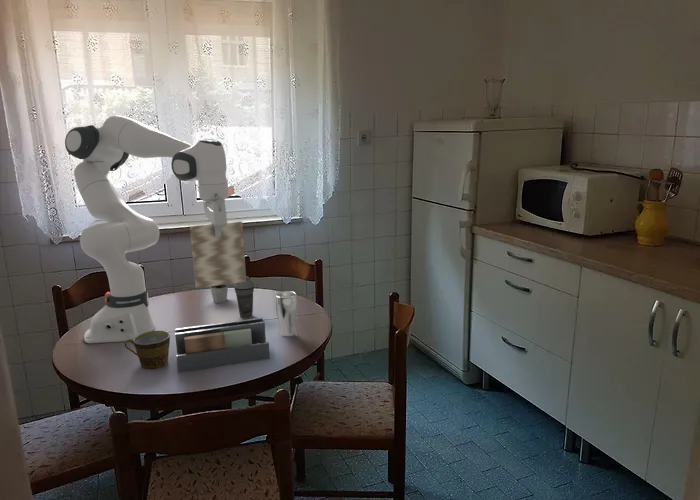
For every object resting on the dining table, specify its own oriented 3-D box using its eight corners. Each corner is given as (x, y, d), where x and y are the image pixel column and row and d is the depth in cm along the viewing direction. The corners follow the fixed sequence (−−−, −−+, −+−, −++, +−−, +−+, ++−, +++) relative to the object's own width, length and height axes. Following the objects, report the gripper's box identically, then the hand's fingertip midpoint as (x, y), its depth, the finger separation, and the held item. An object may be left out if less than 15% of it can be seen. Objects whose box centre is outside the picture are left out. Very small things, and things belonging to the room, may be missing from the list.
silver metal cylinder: (300, 339, 172) (298, 296, 168) (279, 342, 170) (277, 298, 166) (296, 331, 178) (294, 290, 175) (276, 334, 176) (273, 292, 173)
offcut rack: (178, 377, 148) (175, 343, 145) (178, 361, 158) (175, 328, 155) (270, 363, 155) (268, 330, 153) (264, 348, 166) (262, 317, 163)
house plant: (202, 309, 201) (198, 269, 197) (196, 299, 213) (192, 260, 209) (238, 303, 207) (235, 264, 203) (231, 293, 219) (228, 256, 215)
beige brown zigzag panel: (196, 288, 166) (190, 226, 161) (195, 286, 167) (189, 225, 162) (246, 281, 172) (242, 221, 167) (245, 280, 173) (241, 221, 168)
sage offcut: (222, 359, 155) (220, 334, 153) (221, 357, 157) (219, 332, 155) (252, 355, 157) (251, 330, 156) (251, 352, 159) (250, 328, 157)
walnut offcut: (187, 368, 149) (184, 339, 147) (187, 365, 151) (184, 337, 149) (226, 363, 153) (224, 334, 151) (225, 360, 155) (223, 331, 152)
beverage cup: (251, 320, 189) (248, 267, 184) (233, 319, 190) (229, 266, 186) (259, 313, 196) (255, 262, 191) (240, 312, 197) (237, 261, 192)
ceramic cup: (177, 360, 158) (174, 330, 156) (166, 376, 148) (163, 343, 146) (134, 361, 158) (130, 331, 156) (121, 377, 148) (116, 345, 146)
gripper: (230, 195, 154) (233, 241, 157) (218, 188, 172) (221, 229, 176) (208, 197, 152) (212, 243, 155) (199, 189, 170) (202, 231, 173)
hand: (217, 235), depth 165 cm, fingers closed on beige brown zigzag panel, 1 cm apart
